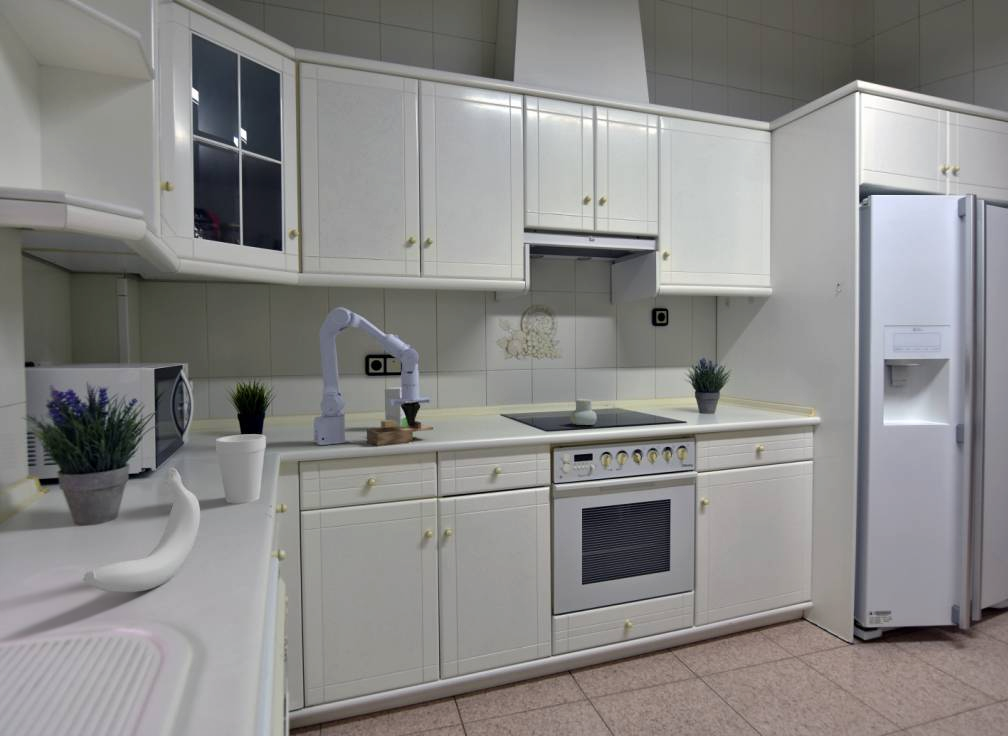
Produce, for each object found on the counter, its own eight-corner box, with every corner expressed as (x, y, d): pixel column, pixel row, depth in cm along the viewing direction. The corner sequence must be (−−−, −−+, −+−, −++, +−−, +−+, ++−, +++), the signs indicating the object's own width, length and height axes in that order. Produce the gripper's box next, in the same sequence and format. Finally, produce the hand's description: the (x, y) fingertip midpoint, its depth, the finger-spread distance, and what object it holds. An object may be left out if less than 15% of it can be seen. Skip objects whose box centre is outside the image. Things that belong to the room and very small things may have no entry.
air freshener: (569, 423, 221) (569, 398, 221) (589, 423, 223) (589, 397, 222) (577, 427, 210) (577, 401, 210) (598, 427, 212) (598, 400, 211)
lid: (402, 432, 181) (402, 424, 181) (392, 429, 188) (392, 421, 188) (433, 429, 187) (433, 421, 187) (422, 426, 194) (422, 418, 194)
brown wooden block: (377, 446, 176) (377, 433, 176) (367, 442, 184) (366, 429, 184) (412, 442, 183) (412, 429, 183) (401, 438, 190) (401, 426, 190)
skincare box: (400, 430, 206) (400, 388, 206) (384, 430, 208) (383, 388, 207) (409, 427, 215) (408, 386, 214) (393, 427, 216) (392, 386, 215)
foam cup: (274, 499, 118) (272, 438, 117) (227, 508, 112) (224, 443, 111) (257, 490, 125) (255, 432, 124) (212, 499, 118) (210, 438, 118)
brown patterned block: (381, 436, 195) (380, 420, 195) (391, 435, 197) (391, 419, 197) (385, 438, 192) (385, 422, 191) (396, 436, 194) (396, 421, 194)
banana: (82, 617, 68) (76, 498, 67) (179, 557, 87) (175, 463, 86) (121, 618, 68) (116, 498, 67) (210, 557, 86) (206, 463, 86)
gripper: (394, 386, 179) (395, 429, 180) (435, 384, 187) (435, 425, 188) (385, 385, 185) (386, 426, 186) (425, 383, 193) (426, 422, 194)
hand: (410, 425), depth 187 cm, fingers closed
